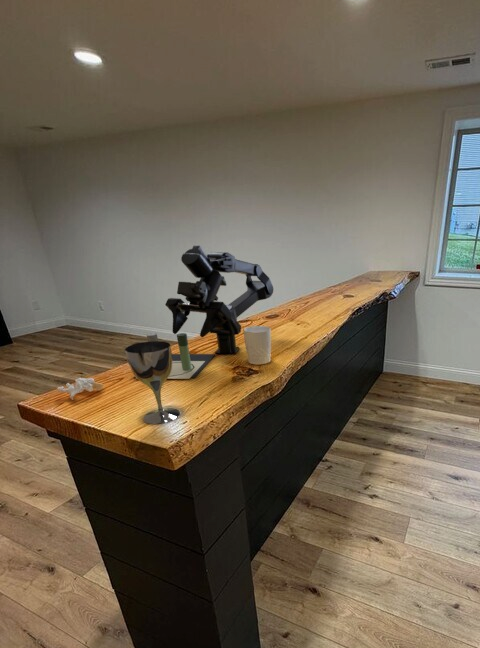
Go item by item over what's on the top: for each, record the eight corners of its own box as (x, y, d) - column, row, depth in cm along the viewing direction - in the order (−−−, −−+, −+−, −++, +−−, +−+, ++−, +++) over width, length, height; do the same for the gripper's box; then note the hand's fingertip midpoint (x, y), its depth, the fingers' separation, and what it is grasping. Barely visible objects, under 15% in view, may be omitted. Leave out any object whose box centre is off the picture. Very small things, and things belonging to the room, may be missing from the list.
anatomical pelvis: (87, 371, 86) (103, 373, 83) (92, 387, 87) (108, 390, 84) (51, 382, 79) (68, 385, 76) (57, 399, 80) (74, 402, 78)
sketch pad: (164, 354, 110) (164, 353, 110) (215, 355, 110) (214, 353, 110) (131, 379, 91) (131, 378, 91) (193, 379, 91) (193, 378, 91)
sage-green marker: (188, 367, 99) (182, 332, 95) (193, 368, 98) (188, 334, 94) (180, 369, 97) (174, 334, 93) (186, 371, 96) (180, 336, 92)
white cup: (267, 366, 101) (265, 333, 97) (241, 364, 102) (238, 331, 98) (275, 358, 108) (274, 326, 104) (252, 356, 110) (249, 325, 106)
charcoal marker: (158, 367, 99) (151, 332, 95) (165, 368, 98) (158, 333, 94) (151, 369, 97) (144, 334, 93) (158, 371, 96) (151, 335, 92)
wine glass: (131, 420, 71) (114, 350, 65) (161, 404, 77) (148, 339, 72) (162, 428, 68) (148, 355, 62) (190, 410, 75) (179, 343, 69)
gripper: (164, 268, 96) (140, 315, 91) (220, 270, 91) (198, 321, 85) (187, 293, 106) (167, 337, 101) (240, 297, 101) (221, 343, 95)
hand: (187, 334), depth 96 cm, fingers open, 9 cm apart
